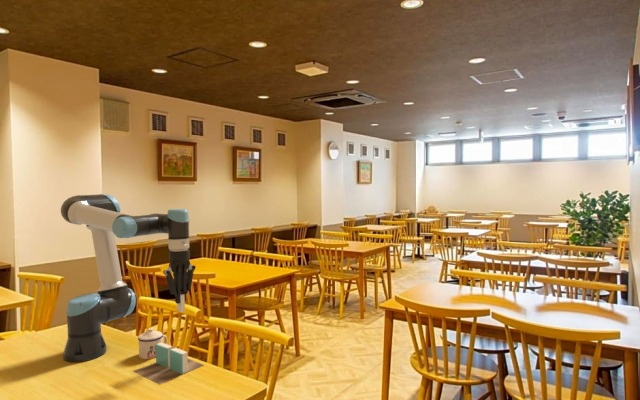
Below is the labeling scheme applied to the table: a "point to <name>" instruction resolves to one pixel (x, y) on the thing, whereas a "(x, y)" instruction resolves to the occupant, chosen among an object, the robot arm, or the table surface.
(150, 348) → the teacup with lid
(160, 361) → the tile
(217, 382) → the table surface
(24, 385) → the table surface
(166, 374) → the walnut board
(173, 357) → the tile
